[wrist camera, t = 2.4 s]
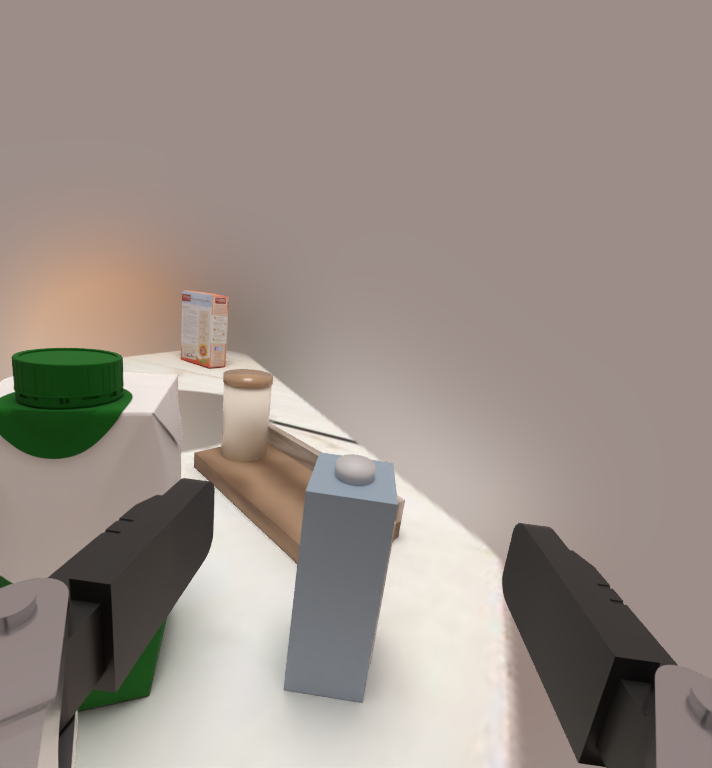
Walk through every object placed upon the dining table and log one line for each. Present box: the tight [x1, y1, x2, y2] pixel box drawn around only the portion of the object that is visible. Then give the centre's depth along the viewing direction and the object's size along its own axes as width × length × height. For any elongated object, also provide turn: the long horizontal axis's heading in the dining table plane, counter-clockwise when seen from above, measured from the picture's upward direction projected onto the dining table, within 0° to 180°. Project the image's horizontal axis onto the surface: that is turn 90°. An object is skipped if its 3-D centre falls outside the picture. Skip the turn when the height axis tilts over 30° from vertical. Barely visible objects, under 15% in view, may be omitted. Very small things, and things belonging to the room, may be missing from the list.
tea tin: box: [284, 453, 398, 702], centre depth 23 cm, size 5×5×15 cm
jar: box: [221, 369, 273, 462], centre depth 47 cm, size 6×6×11 cm
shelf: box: [194, 423, 405, 564], centre depth 42 cm, size 11×26×4 cm, turn 47°
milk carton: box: [0, 348, 183, 711], centre depth 21 cm, size 9×9×20 cm
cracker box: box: [181, 290, 229, 368], centre depth 104 cm, size 14×6×21 cm, turn 57°
